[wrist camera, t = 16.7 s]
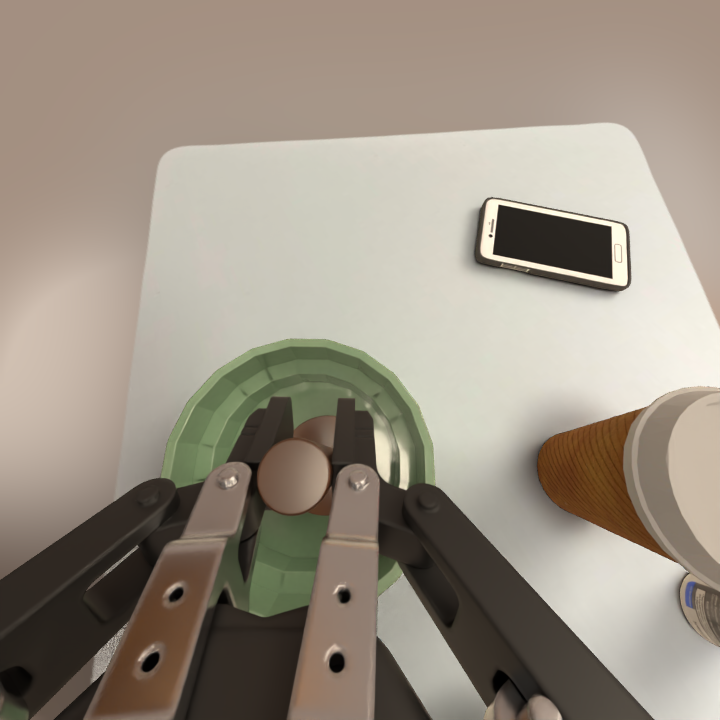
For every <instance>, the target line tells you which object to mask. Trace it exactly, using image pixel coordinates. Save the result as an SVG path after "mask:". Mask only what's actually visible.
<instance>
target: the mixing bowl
mask: <svg viewBox="0 0 720 720" xmlns="http://www.w3.org/2000/svg"><path fill="white" fill-rule="evenodd" d="M272 396H280V397H291V401H292V412H293V424H294V429H295V428H297V427H298V426H299V425H300V424H302V423H303V422H305V421H307V420H309V419H311V418H314V417H318V416H325V415H331V416H336V413H337V403H338V398H355V410H360V411H368V412H369V413H370V415H371V416H372V418H373V422H374V438H375V451H376V465H377V470H378V473H379V475H380V476H381V477H382V479H383V480H385V481H386V482H387V483H389V484H391V485H393V486H395V487H398V488H402V489H405V490H407V489H408V488H409V487H411V486H412V485H415V484H418V483H427V484H431V485H434V486H435V471H434V453H433V443H432V441H431V438H430V435H429V432H428V430H427V427H426V424H425V421H424V419H423V416H422V413H421V411H420V408H419V406H418V404H417V403H416V401H415V400H414V399H413V397H412V396H411V395H410V393H409V392H408V391H407V389H406V388H405V387H404V386H403V384H402V383H401V382H400V380H399V379H398V378H397V376H396V375H395V374H394V373H393V372H392V371H390V370H389V369H387V368H386V367H385V366H383V365H382V364H380V363H379V362H378V361H376V360H375V359H373V358H372V357H371V356H369V355H368V354H366V353H365V352H363V351H361V350H358V349H355V348H352V347H349V346H346V345H343V344H340V343H337V342H334V341H331V340H326V339H286V340H282V341H279V342H275V343H272V344H268V345H264V346H261V347H257V348H253V349H251V350H249V351H247V352H246V353H244V354H243V355H241V356H239V357H238V358H236V359H234V360H233V361H231V362H229V363H228V364H226V365H225V366H223V367H221V368H220V369H218V370H217V371H216V372H215V373H214V374H213V375H212V376H211V377H210V378H209V379H208V380H207V381H206V382H205V383H204V385H203V386H202V387H201V388H200V389H199V390H198V391H197V392H196V393H195V394H194V395H193V396H192V397H191V399H190V400H189V401H188V402H187V404H186V406H185V408H184V410H183V412H182V414H181V416H180V418H179V419H178V421H177V423H176V425H175V427H174V429H173V431H172V433H171V435H170V437H169V439H168V442H167V446H166V451H165V456H164V461H163V466H162V472H161V477H160V478H167V479H170V480H172V481H173V482H174V484H175V486H176V488H180V487H184V486H188V485H192V484H196V483H200V482H203V481H205V479H206V477H207V476H208V475H209V473H210V472H211V471H212V470H214V469H215V468H216V467H218V466H220V465H222V464H225V463H226V461H227V459H228V457H229V455H230V453H231V451H232V449H233V447H234V445H235V443H236V441H237V439H238V437H239V435H240V434H241V431H242V429H243V427H244V425H245V423H246V421H247V419H248V417H249V416H250V415H251V414H252V413H253V412H254V411H256V410H257V409H258V408H267V406H268V403H269V401H270V399H271V397H272ZM328 520H329V516H320V515H314V514H311V513H308V512H307V513H305V514H302V515H298V516H285V515H281V514H278V513H276V512H274V511H273V510H265V511H264V514H263V518H262V521H261V526H262V530H261V536H260V541H259V546H258V551H257V556H256V561H255V566H254V571H253V576H252V581H251V587H250V597H249V601H250V606H249V613H252V614H255V615H258V616H261V617H269V616H272V615H275V614H279V613H282V612H286V611H289V610H292V609H296V608H299V607H303V606H306V605H309V603H310V598H311V592H312V587H313V582H314V577H315V572H316V567H317V562H318V556H319V551H320V546H321V542H322V539H323V537H325V535H326V531H327V526H328ZM402 572H403V571H402V570H401V568H400V567H399V565H398V563H397V561H396V560H394V559H391V558H389V557H386V556H383V555H381V554H379V556H378V594H377V597H378V596H379V595H381V594H382V593H383V592H384V591H385V590H386V589H388V588H389V587H390V586H391V585H392V584H393V583H395V582H396V581H397V580H398V578H399V577H400V576H401V574H402Z"/></svg>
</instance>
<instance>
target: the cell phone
mask: <svg viewBox="0 0 720 720" xmlns="http://www.w3.org/2000/svg"><path fill="white" fill-rule="evenodd" d="M475 257H476V259H477V261H479V262H481V263H484V264H488V265H492V266H497V267H505V268H510V269H515V270H520V271H525V272H527V273H529V274H534V275H539V276H544V277H549V278H554V279H559V280H563V281H568V282H573V283H578V284H583V285H588V286H593V287H598V288H603V289H608V290H613V291H623V290H625V289H626V288H628V287H629V286H630V284H631V261H630V237H629V229H628V227H627V225H626V224H624V223H621V222H618V221H613V220H608V219H603V218H598V217H593V216H588V215H583V214H578V213H573V212H567V211H562V210H557V209H552V208H547V207H542V206H537V205H532V204H527V203H522V202H517V201H511V200H506V199H501V198H493V197H491V198H487V199H486V200H485V201H484V203H483V205H482V208H481V213H480V221H479V228H478V235H477V243H476V250H475Z"/></svg>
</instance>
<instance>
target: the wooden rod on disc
mask: <svg viewBox="0 0 720 720" xmlns="http://www.w3.org/2000/svg"><path fill="white" fill-rule="evenodd" d="M335 423H336V416H331V415H325V416H318V417H314V418H311V419H309V420H307V421H305V422H303V423H302V424H300V425H299V426H298V427H297V428H295V429H294V434H293V438H289V439H285V440H282V441H280V442H278V443H276V444H275V445H273V446H272V447H271V448H270V449H269V450H268V451H267V452H266V453H265V455H264V456H263V458H262V460H261V462H260V464H259V467H258V471H257V487H258V491H259V494H260V496H261V498H262V500H263V502H264V503H265V504H266V505H267V506H268V507H269V508H270V509H271V510H273V511H274V512H276V513H278V514H281V515H285V516H298V515H302V514H305V513H307V512H308V513H311V514H314V515H320V516H329V515H330V510H331V504H332V479H333V470H332V465H331V463H332V453H333V443H334V433H335Z"/></svg>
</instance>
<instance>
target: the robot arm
mask: <svg viewBox="0 0 720 720" xmlns="http://www.w3.org/2000/svg"><path fill="white" fill-rule="evenodd" d="M293 434H294V424H293V412H292V401H291V397H280V396H272V397H271V399H270V401H269V403H268V406H267V408H258V409H257V410H256V411H254V412H253V413H252V414H251V415H250V416H249V417H248V419H247V421H246V423H245V425H244V427H243V429H242V431H241V434H240V435H239V437H238V439H237V441H236V443H235V445H234V447H233V449H232V451H231V453H230V455H229V457H228V459H227V461H226V463H225V464H222V465H220V466H218V467H216V468H215V469H214V470H212V471H211V472H210V473H209V475H208V476H207V477H206V479H205V481H203V482H200V483H196V484H192V485H188V486H184V487H180V488H176V486H175V484H174V482H173V481H172V480H170V479H167V478H156V479H151V480H148V481H146V482H143V483H141V484H139V485H138V486H136V487H135V488H133V489H132V490H130V491H129V492H127V493H126V494H124V495H123V496H122V497H120V498H119V499H117V500H116V501H114V502H113V503H111V504H110V505H109V506H107V507H106V508H104V509H103V510H101V511H100V512H98V513H97V514H95V515H94V516H93V517H91V518H90V519H88V520H87V521H85V522H84V523H83V524H81V525H80V526H78V527H77V528H75V529H74V530H72V531H71V532H70V533H68V534H67V535H65V536H64V537H62V538H61V539H59V540H58V541H56V542H55V543H53V544H52V545H50V546H49V547H48V548H46V549H45V550H43V551H42V552H40V553H39V554H37V555H36V556H34V557H33V558H32V559H30V560H29V561H27V562H26V563H24V564H23V565H21V566H20V567H18V568H17V569H16V570H14V571H13V572H11V573H10V574H8V575H7V576H5V577H4V578H3V579H1V580H0V720H30V719H31V718H32V717H33V716H34V715H35V714H36V713H37V712H38V711H39V710H40V709H41V708H42V707H43V706H44V705H45V704H46V703H47V702H48V701H49V700H50V699H51V698H52V697H53V696H54V695H55V694H56V693H57V692H58V691H59V690H60V689H61V688H62V687H63V686H64V685H65V684H66V683H67V682H68V681H69V680H70V679H71V678H72V677H73V676H74V675H75V674H76V673H77V672H78V671H79V670H80V669H81V668H82V667H83V666H84V665H85V664H86V663H87V662H88V661H89V660H90V659H91V658H92V657H93V656H94V655H95V654H96V653H97V652H98V651H99V650H100V649H101V648H102V647H103V646H104V645H105V644H106V643H107V642H108V641H109V640H110V639H111V638H112V637H113V636H114V635H115V634H116V633H117V632H118V631H119V630H120V629H121V628H122V627H123V626H124V625H125V624H126V623H127V622H128V621H129V622H128V625H127V627H126V629H125V631H124V633H123V635H122V637H121V640H120V642H119V644H118V646H117V648H116V650H115V652H114V655H113V657H112V659H111V661H110V663H109V665H108V667H107V669H106V671H105V672H104V673H103V674H102V675H101V676H100V677H99V678H98V679H97V680H96V681H94V682H93V683H92V684H91V685H90V686H89V687H88V688H87V689H86V690H85V691H84V692H83V693H82V694H81V695H79V696H78V697H77V698H76V699H75V700H74V701H73V702H72V703H71V704H70V705H69V706H68V707H67V708H66V709H64V710H63V711H62V712H61V713H60V714H59V715H58V716H57V717H56V718H55V719H54V720H432V718H431V717H430V715H429V714H428V712H427V710H426V709H425V707H424V706H423V704H422V702H421V701H420V699H419V697H418V696H417V694H416V693H415V691H414V689H413V688H412V686H411V685H410V683H409V681H408V680H407V678H406V677H405V675H404V673H403V672H402V670H401V668H400V667H399V665H398V664H397V662H396V660H395V659H394V657H393V656H392V654H391V653H390V651H389V650H388V648H387V647H386V646H385V645H384V643H383V642H382V641H381V640H380V639H379V638H378V637H377V636H376V632H377V594H378V556H379V554H381V555H383V556H386V557H389V558H391V559H394V560H396V561H397V563H398V565H399V567H400V568H401V570H402V571H403V573H404V575H405V576H406V578H407V579H408V581H409V583H410V584H411V586H412V588H413V589H414V591H415V592H416V594H417V596H418V597H419V599H420V600H421V602H422V604H423V605H424V607H425V608H426V610H427V612H428V613H429V615H430V616H431V618H432V620H433V621H434V623H435V624H436V626H437V628H438V629H439V631H440V632H441V634H442V636H443V637H444V639H445V640H446V642H447V644H448V645H449V647H450V648H451V650H452V652H453V653H454V655H455V656H456V658H457V660H458V661H459V663H460V664H461V666H462V668H463V669H464V671H465V672H466V674H467V676H468V677H469V679H470V681H471V682H472V684H473V685H474V687H475V689H476V690H477V692H478V693H479V695H480V697H481V698H482V700H483V701H484V703H485V705H486V706H487V710H486V712H485V715H484V719H483V720H654V719H653V718H652V717H651V716H650V715H649V713H648V712H647V711H646V710H645V709H644V708H643V707H642V706H641V705H640V704H639V703H638V702H637V701H636V699H635V698H634V697H633V696H632V695H631V694H630V693H629V692H628V691H627V690H626V689H625V688H624V686H623V685H622V684H621V683H620V682H619V681H618V680H617V679H616V678H615V677H614V676H613V675H612V673H611V672H610V671H609V670H608V669H607V668H606V667H605V666H604V665H603V664H602V663H601V662H600V661H599V659H598V658H597V657H596V656H595V655H594V654H593V653H592V652H591V651H590V650H589V649H588V648H587V646H586V645H585V644H584V643H583V642H582V641H581V640H580V639H579V638H578V637H577V636H576V635H575V633H574V632H573V631H572V630H571V629H570V628H569V627H568V626H567V625H566V624H565V623H564V622H563V621H562V619H561V618H560V617H559V616H558V615H557V614H556V613H555V612H554V611H553V610H552V609H551V608H550V606H549V605H548V604H547V603H546V602H545V601H544V600H543V599H542V598H541V597H540V596H539V595H538V593H537V592H536V591H535V590H534V589H533V588H532V587H531V586H530V585H529V584H528V583H527V582H526V581H525V579H524V578H523V577H522V576H521V575H520V574H519V573H518V572H517V571H516V570H515V569H514V568H513V566H512V565H511V564H510V563H509V562H508V561H507V560H506V559H505V558H504V557H503V556H502V555H501V554H500V552H499V551H498V550H497V549H496V548H495V547H494V546H493V545H492V544H491V543H490V542H489V541H488V539H487V538H486V537H485V536H484V535H483V534H482V533H481V532H480V531H479V530H478V529H477V528H476V526H475V525H474V524H473V523H472V522H471V521H470V520H469V519H468V518H467V517H466V516H465V515H464V514H463V512H462V511H461V510H460V509H459V508H458V507H457V506H456V505H455V504H454V503H453V502H452V501H451V499H450V498H449V497H448V496H447V495H446V494H445V493H444V492H443V491H442V490H441V489H439V488H438V487H436V486H434V485H431V484H427V483H418V484H415V485H412V486H411V487H409V488H408V489H407V490H405V489H402V488H398V487H395V486H393V485H391V484H389V483H387V482H386V481H385V480H383V479H382V477H381V476H380V475H379V473H378V470H377V465H376V451H375V438H374V422H373V418H372V416H371V415H370V413H369V412H368V411H360V410H355V398H338V403H337V413H336V423H335V433H334V443H333V453H332V463H331V465H332V470H333V479H332V504H331V510H330V515H329V520H328V526H327V531H326V535H325V537H323V539H322V542H321V546H320V551H319V556H318V562H317V567H316V572H315V577H314V582H313V587H312V592H311V598H310V603H309V605H306V606H303V607H299V608H296V609H292V610H289V611H286V612H282V613H279V614H275V615H272V616H269V617H261V616H258V615H255V614H252V613H249V606H250V601H249V597H250V587H251V581H252V576H253V571H254V566H255V561H256V556H257V551H258V546H259V541H260V536H261V530H262V526H261V521H262V518H263V514H264V511H265V510H271V509H270V508H269V507H268V506H267V505H266V504H265V503H264V502H263V500H262V498H261V496H260V494H259V491H258V487H257V471H258V467H259V464H260V462H261V460H262V458H263V456H264V455H265V453H266V452H267V451H268V450H269V449H270V448H271V447H272V446H273V445H275V444H276V443H278V442H280V441H282V440H285V439H289V438H293ZM137 545H138V546H139V548H138V549H137V550H136V551H134V552H133V553H132V554H131V555H130V556H128V557H127V558H126V559H125V560H124V561H123V562H121V563H120V564H119V565H118V566H117V567H115V568H114V569H113V570H112V571H111V572H109V573H108V574H107V575H106V576H105V577H104V578H102V579H101V580H100V581H99V582H98V583H97V584H95V585H94V586H93V587H92V588H90V589H89V590H87V589H88V587H89V586H90V585H91V583H92V582H94V581H95V580H96V579H97V578H98V577H99V576H101V575H102V574H103V573H104V572H106V571H107V570H108V569H109V568H110V567H112V566H113V565H114V564H115V563H116V562H118V561H119V560H120V559H121V558H122V557H124V556H125V555H126V554H127V553H128V552H130V551H131V550H132V549H133V548H134V547H136V546H137ZM86 590H87V591H86Z"/></svg>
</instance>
